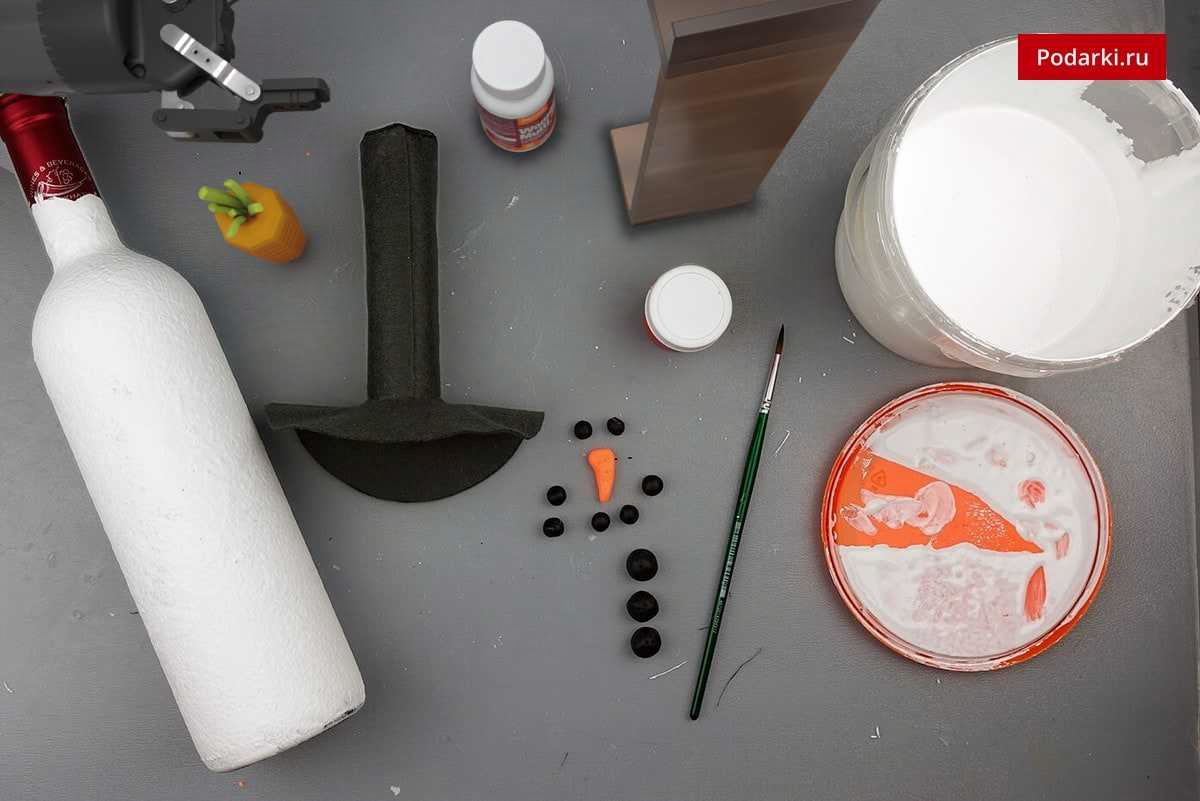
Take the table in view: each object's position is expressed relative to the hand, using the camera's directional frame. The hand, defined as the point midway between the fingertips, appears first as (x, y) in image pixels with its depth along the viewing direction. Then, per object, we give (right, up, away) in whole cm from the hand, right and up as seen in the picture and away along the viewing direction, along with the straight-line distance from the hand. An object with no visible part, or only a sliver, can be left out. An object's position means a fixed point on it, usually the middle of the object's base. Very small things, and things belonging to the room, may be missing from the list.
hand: (326, 24), depth 57 cm
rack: (+25, -3, -11) cm, 27 cm away
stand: (+24, -5, +17) cm, 30 cm away
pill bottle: (+11, -1, +17) cm, 20 cm away
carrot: (-7, -12, +16) cm, 21 cm away
